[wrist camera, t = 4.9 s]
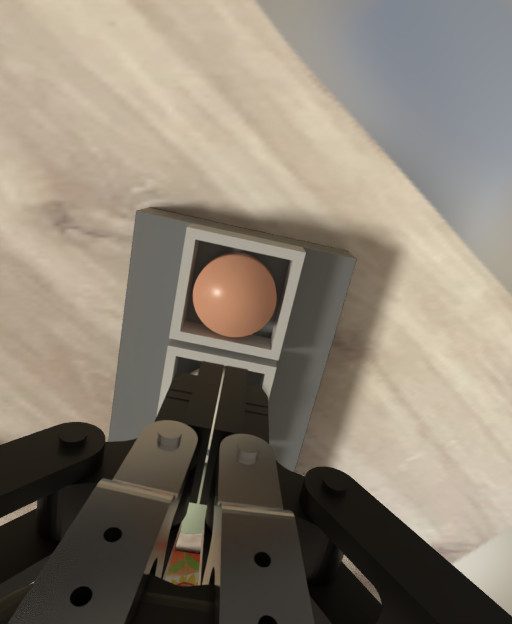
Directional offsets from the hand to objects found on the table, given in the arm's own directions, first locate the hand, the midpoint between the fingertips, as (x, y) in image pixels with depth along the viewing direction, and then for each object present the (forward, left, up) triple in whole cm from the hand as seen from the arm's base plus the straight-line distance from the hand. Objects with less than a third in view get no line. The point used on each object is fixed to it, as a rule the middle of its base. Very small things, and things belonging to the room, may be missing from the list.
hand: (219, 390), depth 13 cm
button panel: (+8, 0, -17) cm, 19 cm away
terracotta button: (0, 0, -13) cm, 13 cm away
